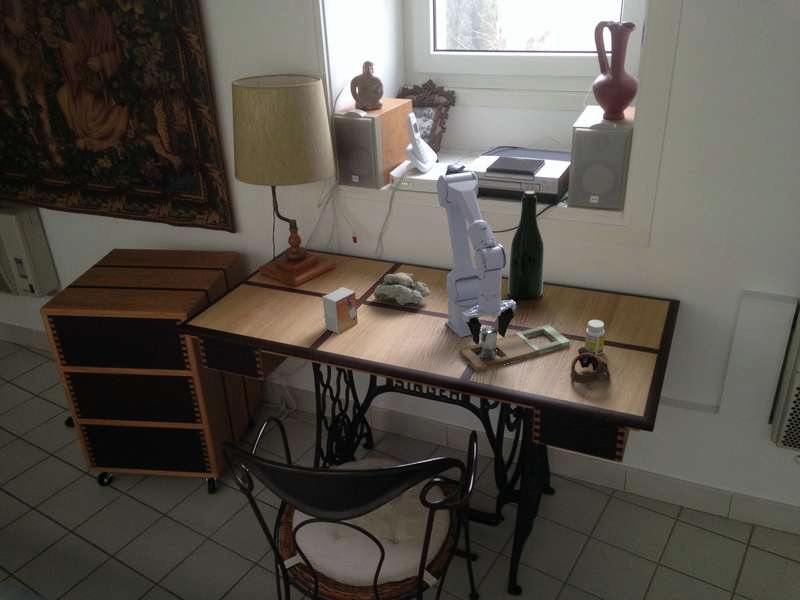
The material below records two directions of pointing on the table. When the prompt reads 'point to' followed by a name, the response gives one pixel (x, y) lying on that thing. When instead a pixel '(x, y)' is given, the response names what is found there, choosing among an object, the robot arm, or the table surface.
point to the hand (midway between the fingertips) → (488, 338)
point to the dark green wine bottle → (526, 254)
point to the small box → (340, 310)
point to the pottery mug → (585, 361)
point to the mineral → (401, 289)
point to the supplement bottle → (595, 337)
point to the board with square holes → (515, 348)
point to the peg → (488, 343)
